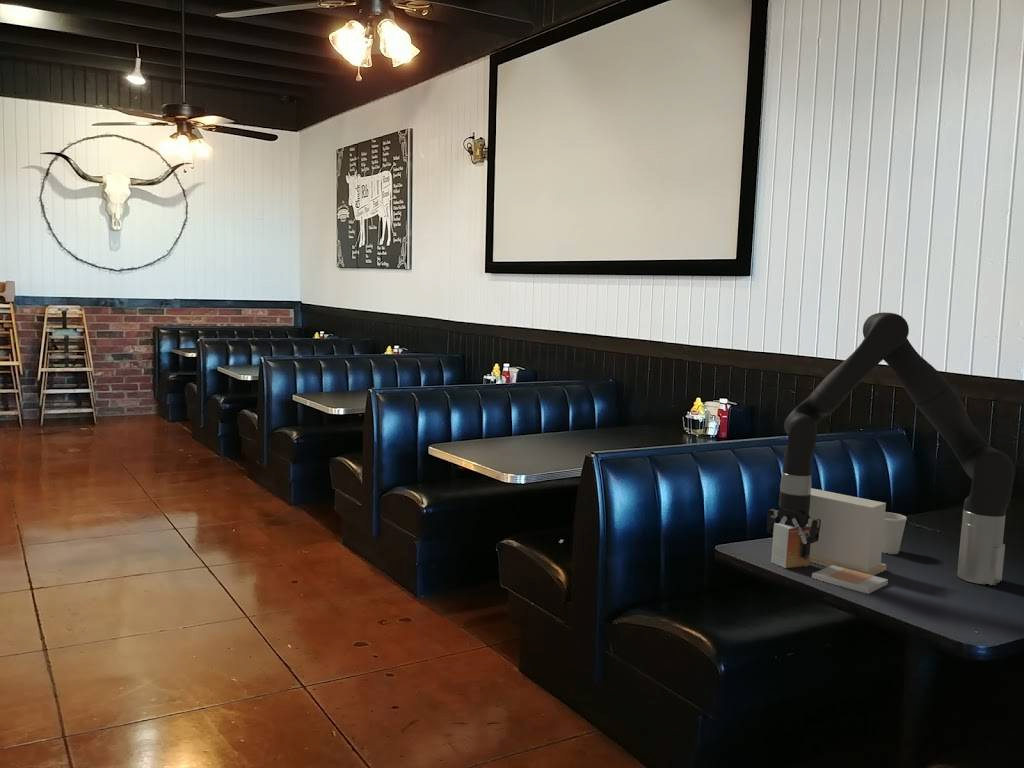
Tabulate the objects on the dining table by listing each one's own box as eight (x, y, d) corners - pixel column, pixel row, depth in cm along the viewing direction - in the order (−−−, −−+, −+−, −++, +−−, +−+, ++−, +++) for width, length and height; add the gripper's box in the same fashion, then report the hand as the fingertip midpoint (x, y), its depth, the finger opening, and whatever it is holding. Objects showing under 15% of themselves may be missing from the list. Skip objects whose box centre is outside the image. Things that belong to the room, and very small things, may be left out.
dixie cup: (897, 547, 241) (900, 512, 240) (908, 556, 233) (911, 520, 232) (867, 545, 242) (870, 511, 241) (876, 554, 234) (879, 518, 233)
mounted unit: (885, 570, 220) (891, 503, 218) (868, 578, 213) (874, 509, 211) (798, 547, 237) (803, 485, 235) (780, 554, 230) (785, 490, 228)
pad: (887, 584, 209) (888, 579, 209) (868, 593, 201) (868, 588, 201) (832, 569, 219) (832, 564, 219) (811, 578, 211) (812, 573, 211)
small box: (785, 569, 218) (788, 528, 217) (770, 562, 223) (773, 522, 222) (809, 566, 221) (812, 526, 220) (794, 559, 226) (797, 520, 225)
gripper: (829, 494, 217) (823, 558, 219) (777, 483, 227) (772, 544, 229) (815, 498, 212) (809, 563, 214) (762, 487, 222) (758, 549, 224)
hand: (790, 553), depth 221 cm, fingers closed on small box, 6 cm apart
